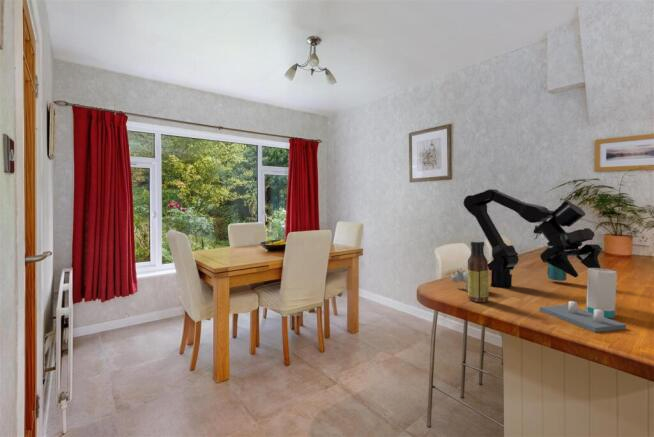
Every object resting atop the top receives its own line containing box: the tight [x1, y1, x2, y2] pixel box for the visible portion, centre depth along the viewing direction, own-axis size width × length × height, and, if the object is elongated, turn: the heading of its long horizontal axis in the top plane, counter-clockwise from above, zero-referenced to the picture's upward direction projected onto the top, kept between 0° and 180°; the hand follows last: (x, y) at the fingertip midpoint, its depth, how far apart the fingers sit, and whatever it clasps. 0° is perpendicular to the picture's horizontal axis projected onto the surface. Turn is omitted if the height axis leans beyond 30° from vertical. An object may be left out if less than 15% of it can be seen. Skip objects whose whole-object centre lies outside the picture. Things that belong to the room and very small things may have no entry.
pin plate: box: [539, 300, 627, 333], centre depth 88 cm, size 16×10×4 cm, turn 12°
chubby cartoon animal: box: [450, 268, 468, 292], centre depth 118 cm, size 7×12×8 cm, turn 48°
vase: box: [585, 267, 618, 319], centre depth 92 cm, size 6×6×13 cm
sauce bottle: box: [467, 240, 489, 303], centre depth 105 cm, size 7×6×20 cm
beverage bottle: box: [547, 263, 568, 282], centre depth 128 cm, size 6×7×20 cm
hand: (589, 275), depth 95 cm, fingers open, 9 cm apart
